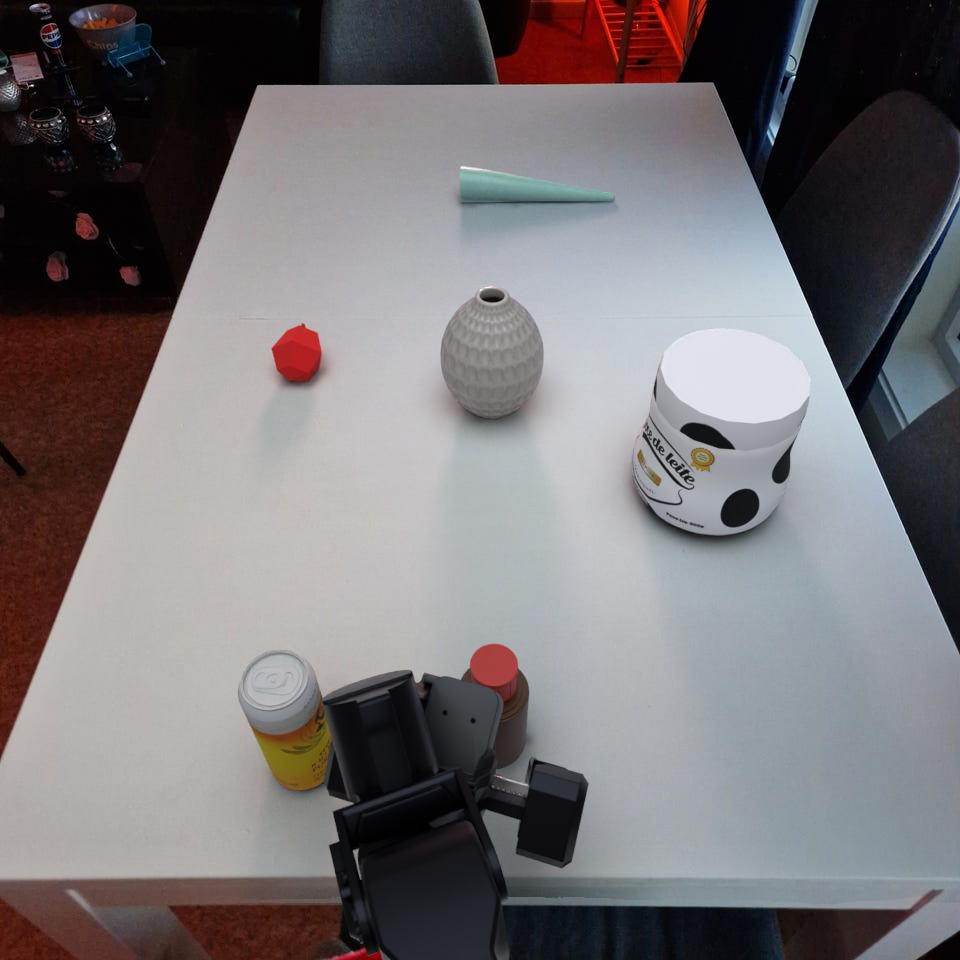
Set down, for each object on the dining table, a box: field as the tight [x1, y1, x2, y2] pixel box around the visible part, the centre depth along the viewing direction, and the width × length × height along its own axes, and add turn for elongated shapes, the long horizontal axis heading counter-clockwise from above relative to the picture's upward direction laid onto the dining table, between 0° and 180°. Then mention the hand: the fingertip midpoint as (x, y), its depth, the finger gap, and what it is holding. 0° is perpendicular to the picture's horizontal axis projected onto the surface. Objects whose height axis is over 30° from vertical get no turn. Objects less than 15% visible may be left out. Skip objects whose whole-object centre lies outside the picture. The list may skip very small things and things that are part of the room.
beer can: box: [237, 648, 332, 791], centre depth 69 cm, size 6×6×15 cm
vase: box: [439, 285, 545, 419], centre depth 102 cm, size 13×13×17 cm
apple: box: [271, 322, 323, 383], centre depth 110 cm, size 7×7×8 cm
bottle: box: [460, 667, 530, 770], centre depth 72 cm, size 6×6×13 cm
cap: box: [469, 643, 519, 702], centre depth 68 cm, size 4×4×3 cm
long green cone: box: [459, 165, 616, 203], centre depth 141 cm, size 5×6×27 cm
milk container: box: [631, 327, 811, 537], centre depth 90 cm, size 17×17×18 cm
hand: (478, 747), depth 68 cm, fingers open, 9 cm apart
